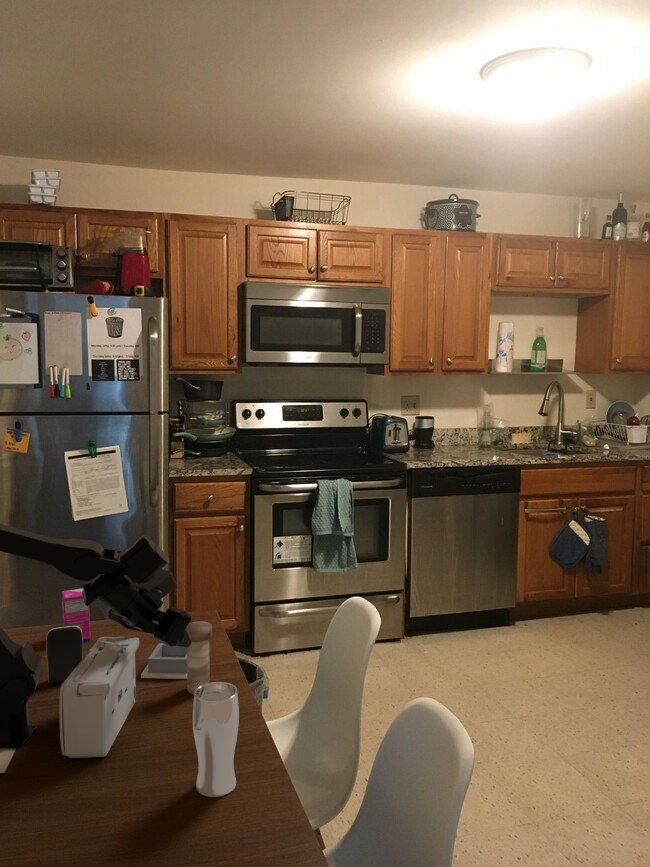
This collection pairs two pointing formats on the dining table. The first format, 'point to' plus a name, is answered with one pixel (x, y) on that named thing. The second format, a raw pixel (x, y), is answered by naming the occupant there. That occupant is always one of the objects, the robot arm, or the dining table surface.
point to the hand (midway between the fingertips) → (174, 638)
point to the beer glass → (215, 737)
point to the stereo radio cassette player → (98, 697)
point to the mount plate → (167, 663)
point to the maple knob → (198, 654)
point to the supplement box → (76, 611)
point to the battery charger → (63, 651)
